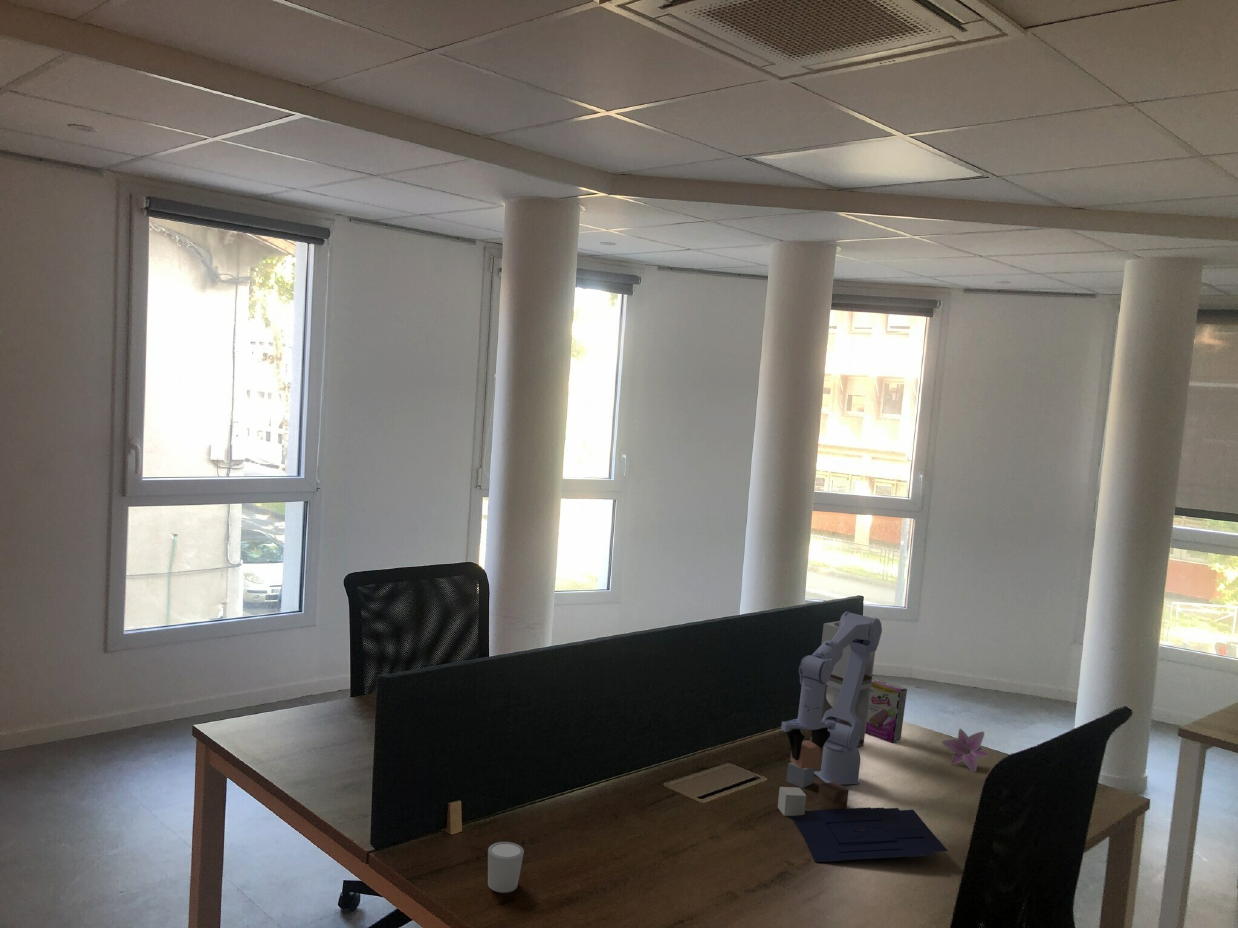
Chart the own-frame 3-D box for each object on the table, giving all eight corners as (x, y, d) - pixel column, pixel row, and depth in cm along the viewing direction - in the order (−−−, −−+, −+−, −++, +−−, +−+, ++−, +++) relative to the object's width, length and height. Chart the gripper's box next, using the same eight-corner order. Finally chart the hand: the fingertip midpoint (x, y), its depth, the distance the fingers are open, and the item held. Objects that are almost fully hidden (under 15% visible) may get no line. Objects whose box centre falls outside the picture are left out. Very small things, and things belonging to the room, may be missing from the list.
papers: (951, 867, 206) (951, 850, 206) (815, 874, 205) (815, 858, 204) (910, 816, 231) (910, 802, 230) (788, 823, 229) (788, 808, 229)
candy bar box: (860, 732, 292) (866, 680, 291) (868, 729, 296) (874, 677, 295) (893, 744, 285) (900, 690, 283) (901, 740, 288) (908, 687, 287)
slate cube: (795, 777, 251) (798, 758, 251) (812, 783, 248) (814, 765, 248) (786, 781, 248) (788, 763, 247) (803, 788, 244) (805, 769, 244)
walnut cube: (831, 800, 239) (833, 781, 238) (846, 808, 234) (848, 789, 234) (817, 803, 236) (819, 784, 235) (832, 812, 232) (834, 792, 231)
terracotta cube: (807, 759, 240) (809, 740, 240) (818, 767, 236) (820, 747, 235) (790, 760, 238) (792, 740, 238) (801, 768, 234) (803, 748, 233)
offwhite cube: (797, 807, 232) (799, 787, 232) (804, 816, 227) (806, 795, 227) (777, 806, 231) (779, 786, 231) (784, 815, 226) (786, 794, 226)
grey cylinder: (485, 874, 186) (489, 840, 186) (521, 876, 187) (524, 842, 186) (483, 893, 179) (487, 857, 179) (520, 895, 180) (523, 859, 179)
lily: (935, 758, 279) (937, 735, 274) (965, 741, 283) (967, 718, 278) (966, 786, 269) (969, 763, 264) (996, 768, 274) (1000, 745, 269)
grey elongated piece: (810, 739, 281) (823, 623, 278) (830, 733, 288) (844, 620, 286) (842, 753, 273) (857, 633, 270) (863, 746, 280) (877, 629, 277)
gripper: (826, 698, 242) (820, 750, 243) (777, 699, 237) (771, 752, 238) (842, 707, 236) (836, 761, 237) (792, 709, 230) (786, 764, 231)
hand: (804, 757), depth 237 cm, fingers closed on terracotta cube, 5 cm apart
